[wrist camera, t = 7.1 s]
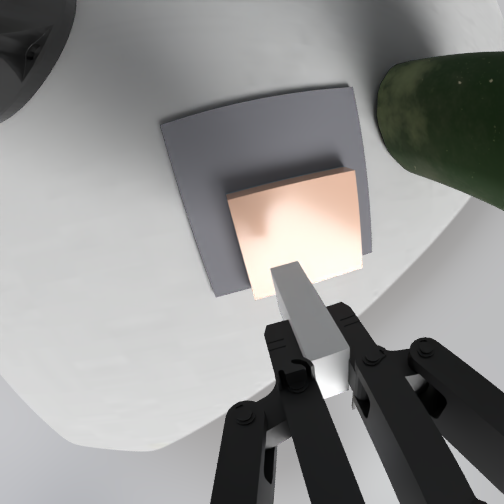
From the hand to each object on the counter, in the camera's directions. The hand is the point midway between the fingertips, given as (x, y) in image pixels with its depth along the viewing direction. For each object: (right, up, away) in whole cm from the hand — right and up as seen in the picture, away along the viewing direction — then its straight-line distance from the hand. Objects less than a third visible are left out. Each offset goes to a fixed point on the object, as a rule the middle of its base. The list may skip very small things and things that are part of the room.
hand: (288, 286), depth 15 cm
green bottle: (+13, +14, +4) cm, 19 cm away
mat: (0, +6, +5) cm, 8 cm away
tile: (-3, +2, +5) cm, 6 cm away
